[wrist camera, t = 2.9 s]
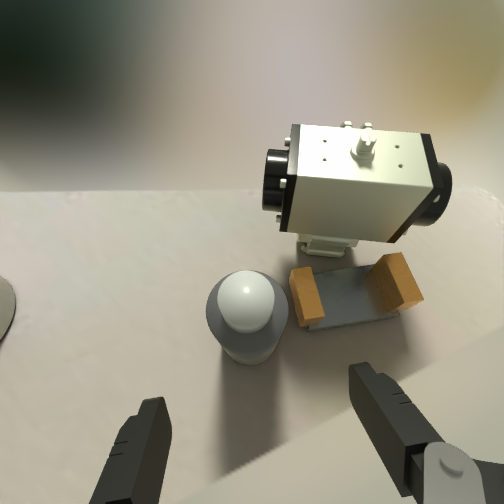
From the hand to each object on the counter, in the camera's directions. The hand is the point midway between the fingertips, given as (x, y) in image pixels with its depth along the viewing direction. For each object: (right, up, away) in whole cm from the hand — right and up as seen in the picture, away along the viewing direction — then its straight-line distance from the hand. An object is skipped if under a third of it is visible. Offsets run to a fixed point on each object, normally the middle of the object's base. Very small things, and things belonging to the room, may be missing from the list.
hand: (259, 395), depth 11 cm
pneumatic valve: (+7, +7, +15) cm, 18 cm away
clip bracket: (+8, +2, +12) cm, 14 cm away
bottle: (-1, -1, +10) cm, 10 cm away
